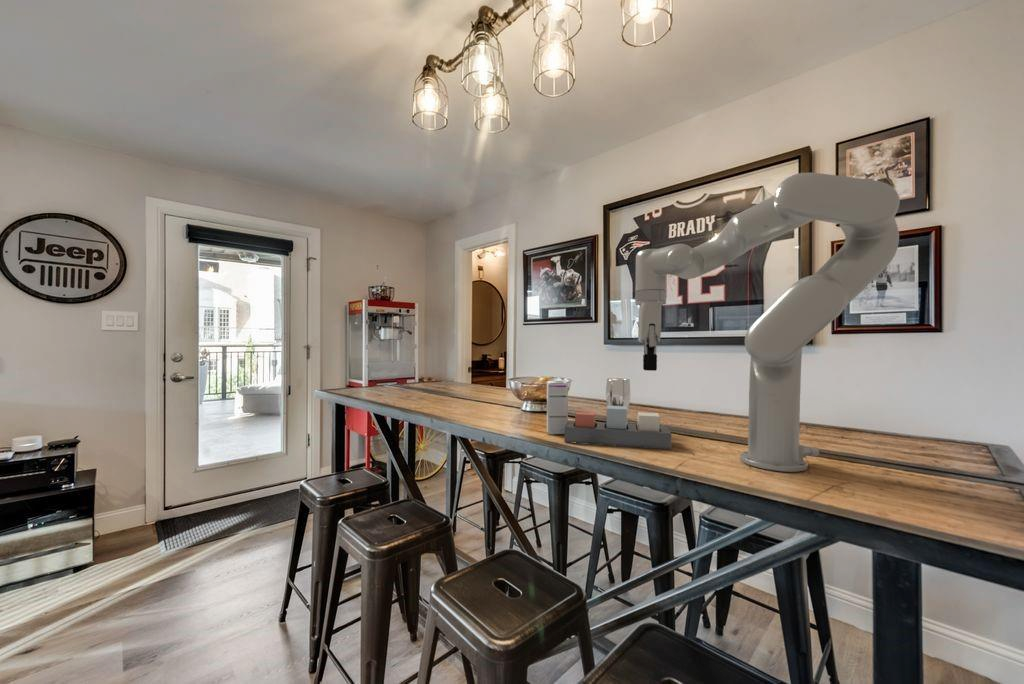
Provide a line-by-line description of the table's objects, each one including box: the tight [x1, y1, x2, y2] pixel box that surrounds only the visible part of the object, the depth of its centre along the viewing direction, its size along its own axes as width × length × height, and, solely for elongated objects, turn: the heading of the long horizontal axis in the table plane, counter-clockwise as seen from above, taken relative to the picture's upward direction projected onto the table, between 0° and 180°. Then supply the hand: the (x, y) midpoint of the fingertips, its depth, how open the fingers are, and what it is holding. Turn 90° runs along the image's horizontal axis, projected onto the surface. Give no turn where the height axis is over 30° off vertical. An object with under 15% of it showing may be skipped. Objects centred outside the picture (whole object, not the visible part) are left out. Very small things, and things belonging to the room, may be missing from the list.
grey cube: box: [605, 405, 628, 429], centre depth 112 cm, size 5×5×5 cm
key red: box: [574, 410, 596, 428], centre depth 113 cm, size 5×5×5 cm
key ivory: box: [637, 411, 661, 432], centre depth 110 cm, size 5×5×5 cm
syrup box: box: [546, 380, 569, 435], centre depth 122 cm, size 6×6×14 cm
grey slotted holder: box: [563, 420, 672, 451], centre depth 112 cm, size 9×26×4 cm, turn 77°
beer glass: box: [605, 377, 631, 414], centre depth 126 cm, size 7×7×15 cm
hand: (649, 370), depth 109 cm, fingers closed
